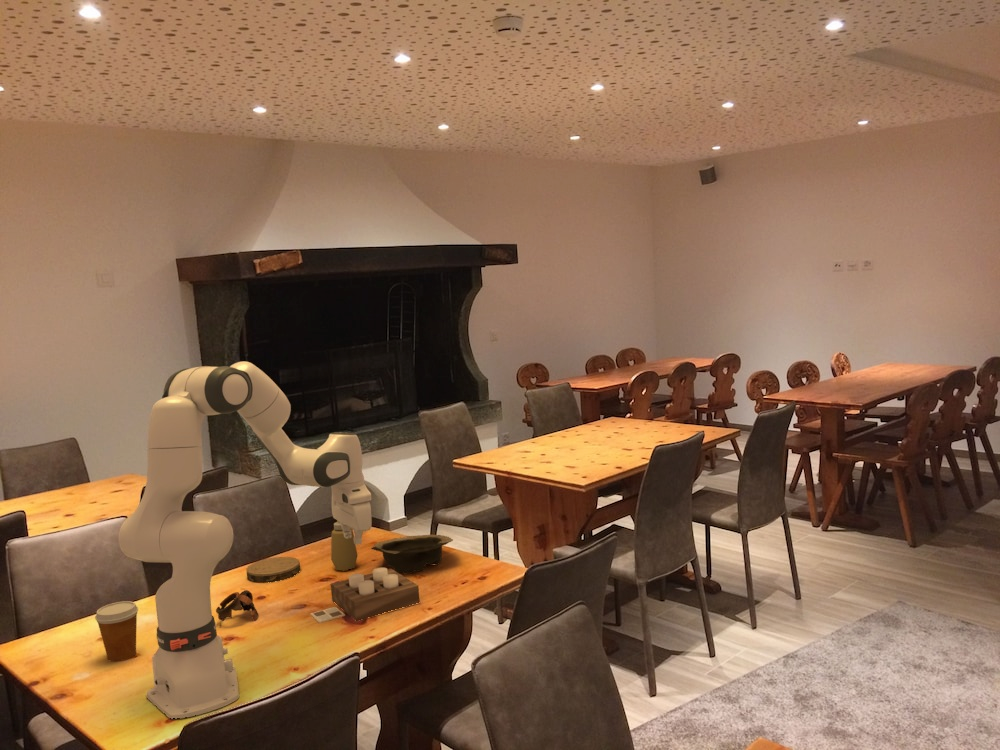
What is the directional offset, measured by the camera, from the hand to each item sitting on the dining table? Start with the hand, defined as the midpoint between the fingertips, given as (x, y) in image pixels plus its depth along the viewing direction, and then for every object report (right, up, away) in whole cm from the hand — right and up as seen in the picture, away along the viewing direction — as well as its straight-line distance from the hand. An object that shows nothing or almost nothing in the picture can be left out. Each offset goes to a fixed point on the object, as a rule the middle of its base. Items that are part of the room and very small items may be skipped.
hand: (352, 540), depth 221 cm
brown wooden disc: (-30, -17, +30) cm, 46 cm away
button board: (+6, -17, +1) cm, 18 cm away
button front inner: (+5, -15, -4) cm, 16 cm away
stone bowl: (+13, -14, +31) cm, 36 cm away
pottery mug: (-29, -20, -4) cm, 35 cm away
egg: (+1, -15, +1) cm, 15 cm away
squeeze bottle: (-8, -15, +31) cm, 35 cm away
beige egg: (+7, -14, +5) cm, 16 cm away
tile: (-5, -18, -6) cm, 20 cm away
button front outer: (+11, -14, -1) cm, 18 cm away
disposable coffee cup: (-52, -23, -23) cm, 61 cm away
